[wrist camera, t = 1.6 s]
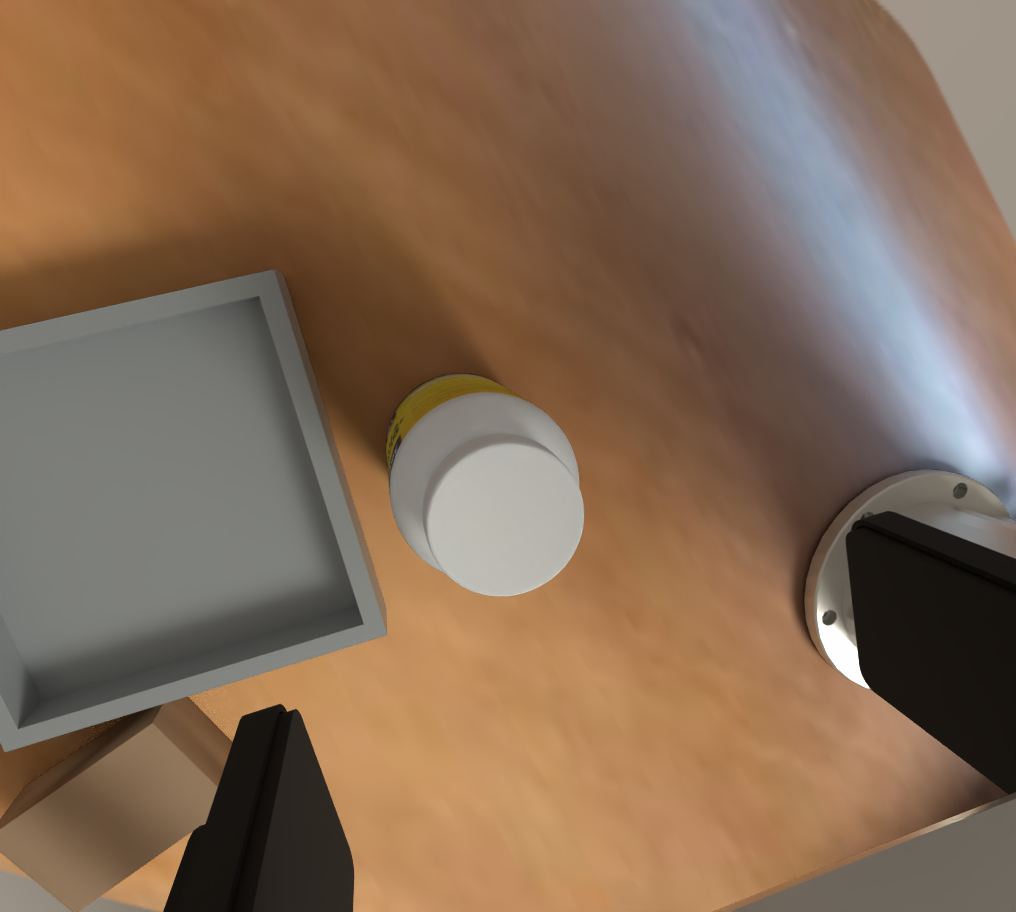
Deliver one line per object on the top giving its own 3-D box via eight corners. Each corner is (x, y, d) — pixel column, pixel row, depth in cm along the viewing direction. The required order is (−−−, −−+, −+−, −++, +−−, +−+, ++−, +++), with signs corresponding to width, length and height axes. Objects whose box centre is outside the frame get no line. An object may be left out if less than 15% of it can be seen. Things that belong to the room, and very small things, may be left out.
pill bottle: (388, 366, 29) (396, 400, 17) (532, 375, 30) (626, 412, 19) (382, 510, 30) (386, 628, 19) (521, 512, 31) (602, 623, 20)
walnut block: (174, 683, 30) (152, 723, 27) (246, 757, 31) (233, 802, 28) (23, 788, 29) (-16, 839, 26) (103, 857, 31) (75, 914, 28)
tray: (283, 272, 27) (273, 269, 24) (386, 609, 31) (387, 634, 28) (-131, 366, 25) (-187, 372, 22) (37, 714, 29) (4, 752, 26)
